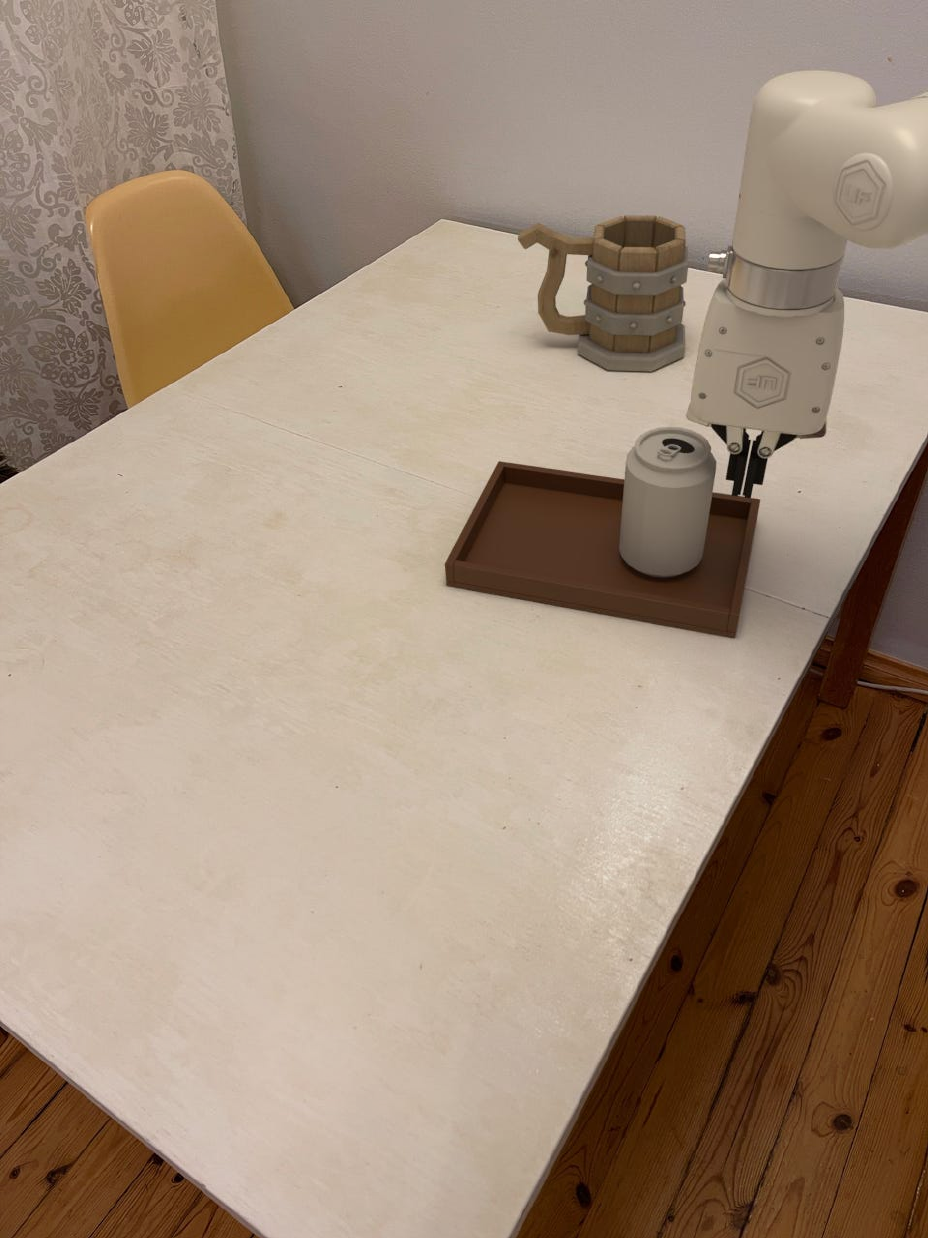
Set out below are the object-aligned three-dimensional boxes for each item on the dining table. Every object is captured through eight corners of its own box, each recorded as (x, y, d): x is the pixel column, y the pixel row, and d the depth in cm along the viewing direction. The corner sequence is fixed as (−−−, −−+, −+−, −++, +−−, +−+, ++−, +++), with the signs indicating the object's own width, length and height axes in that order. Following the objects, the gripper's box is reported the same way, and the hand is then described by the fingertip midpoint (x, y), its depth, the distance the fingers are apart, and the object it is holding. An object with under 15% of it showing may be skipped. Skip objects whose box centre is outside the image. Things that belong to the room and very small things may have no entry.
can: (717, 550, 88) (736, 438, 80) (674, 594, 84) (690, 481, 76) (646, 521, 92) (657, 410, 84) (602, 562, 88) (609, 450, 80)
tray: (756, 521, 92) (760, 498, 90) (735, 638, 81) (739, 615, 79) (499, 482, 99) (498, 460, 97) (446, 585, 87) (444, 563, 86)
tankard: (682, 323, 122) (696, 201, 111) (684, 373, 113) (699, 246, 102) (524, 320, 125) (524, 200, 114) (514, 368, 115) (512, 244, 105)
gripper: (667, 286, 67) (645, 500, 80) (895, 308, 63) (834, 529, 76) (684, 243, 72) (661, 450, 85) (896, 261, 68) (839, 475, 81)
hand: (743, 487), depth 80 cm, fingers closed
